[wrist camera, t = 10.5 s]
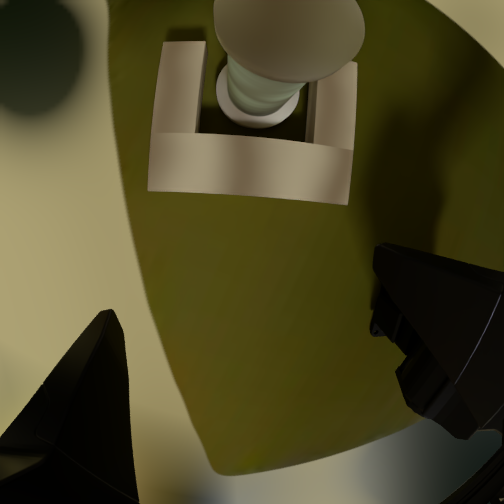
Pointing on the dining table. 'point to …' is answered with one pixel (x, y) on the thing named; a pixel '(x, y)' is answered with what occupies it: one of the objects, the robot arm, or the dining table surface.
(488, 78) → the dining table surface
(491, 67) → the dining table surface
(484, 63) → the dining table surface
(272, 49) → the bobbin
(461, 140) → the dining table surface
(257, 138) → the notched board
